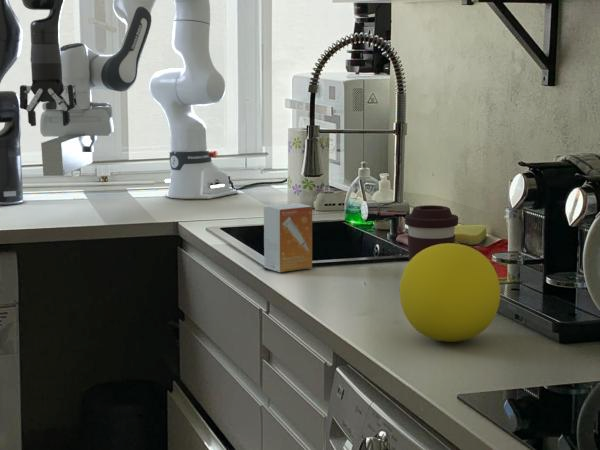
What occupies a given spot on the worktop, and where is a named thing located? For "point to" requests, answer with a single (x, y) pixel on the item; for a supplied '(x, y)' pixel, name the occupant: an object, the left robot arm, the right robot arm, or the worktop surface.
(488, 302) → the toy
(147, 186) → the worktop surface
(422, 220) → the coffee cup
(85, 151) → the bar
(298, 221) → the small box
